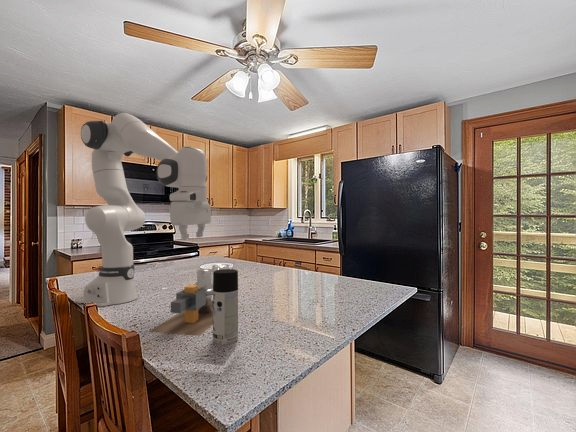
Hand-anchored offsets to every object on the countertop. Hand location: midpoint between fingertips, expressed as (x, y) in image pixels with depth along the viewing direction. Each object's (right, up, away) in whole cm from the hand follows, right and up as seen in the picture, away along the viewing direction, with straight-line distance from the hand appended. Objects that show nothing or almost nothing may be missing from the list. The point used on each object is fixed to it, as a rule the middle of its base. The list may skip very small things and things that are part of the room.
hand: (192, 238), depth 98 cm
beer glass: (+5, -27, +19) cm, 33 cm away
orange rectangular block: (+1, -26, -4) cm, 26 cm away
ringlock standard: (+2, -26, -1) cm, 26 cm away
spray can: (+15, -28, -18) cm, 36 cm away
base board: (+2, -27, -1) cm, 27 cm away
